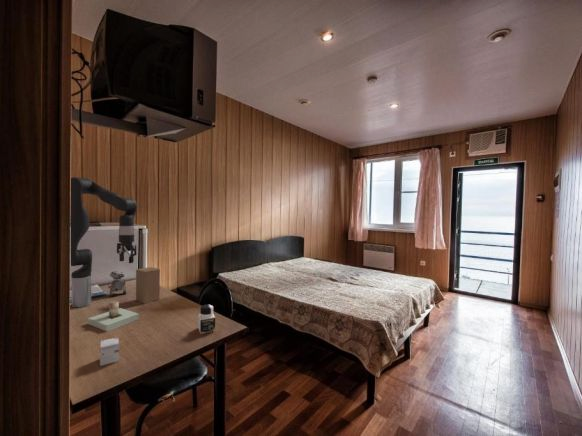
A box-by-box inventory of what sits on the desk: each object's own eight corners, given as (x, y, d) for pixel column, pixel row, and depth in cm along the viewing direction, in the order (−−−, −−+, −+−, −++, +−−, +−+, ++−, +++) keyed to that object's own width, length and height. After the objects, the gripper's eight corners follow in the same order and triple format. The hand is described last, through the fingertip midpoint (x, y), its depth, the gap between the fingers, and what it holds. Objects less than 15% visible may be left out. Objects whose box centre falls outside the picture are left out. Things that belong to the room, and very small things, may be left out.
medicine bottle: (200, 334, 128) (200, 309, 128) (197, 327, 134) (198, 304, 134) (215, 331, 131) (215, 307, 131) (212, 325, 138) (212, 302, 137)
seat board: (88, 324, 135) (88, 318, 134) (120, 313, 149) (120, 307, 149) (106, 331, 128) (106, 325, 127) (138, 319, 142) (138, 313, 142)
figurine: (123, 290, 187) (123, 269, 186) (126, 295, 178) (126, 272, 178) (107, 293, 181) (107, 271, 180) (110, 297, 172) (110, 274, 172)
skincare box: (100, 366, 101) (100, 347, 100) (100, 358, 106) (100, 340, 105) (119, 361, 104) (119, 342, 104) (118, 354, 109) (118, 336, 109)
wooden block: (159, 299, 172) (160, 268, 171) (144, 304, 164) (144, 271, 163) (151, 296, 177) (151, 266, 176) (135, 300, 169) (135, 269, 168)
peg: (107, 322, 137) (107, 303, 137) (115, 319, 141) (115, 300, 141) (112, 324, 135) (112, 304, 135) (120, 321, 139) (120, 302, 139)
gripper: (112, 233, 151) (112, 261, 152) (127, 235, 145) (127, 264, 145) (125, 232, 158) (125, 259, 158) (141, 234, 151) (140, 262, 152)
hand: (126, 262), depth 152 cm, fingers open, 8 cm apart
